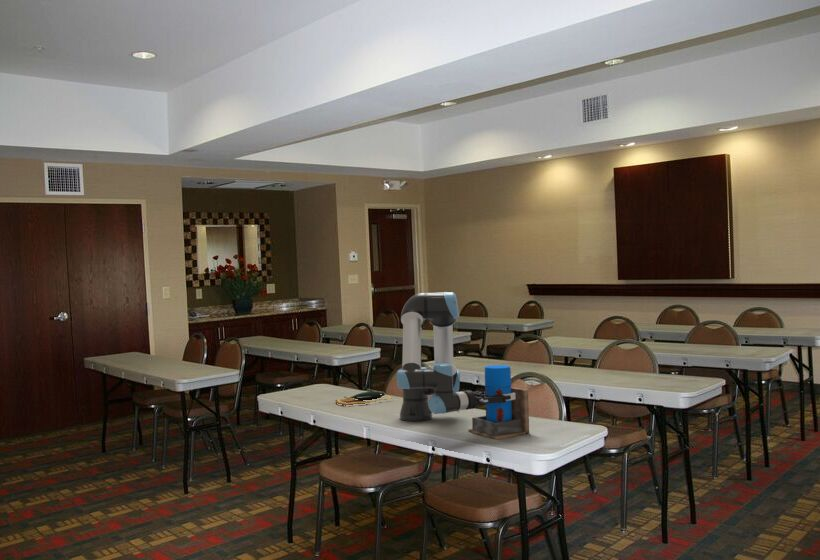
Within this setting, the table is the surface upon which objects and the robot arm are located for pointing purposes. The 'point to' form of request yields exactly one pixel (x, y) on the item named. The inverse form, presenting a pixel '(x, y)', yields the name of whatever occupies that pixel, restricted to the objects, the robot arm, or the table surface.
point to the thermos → (498, 392)
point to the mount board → (506, 428)
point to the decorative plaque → (362, 397)
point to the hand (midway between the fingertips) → (505, 394)
